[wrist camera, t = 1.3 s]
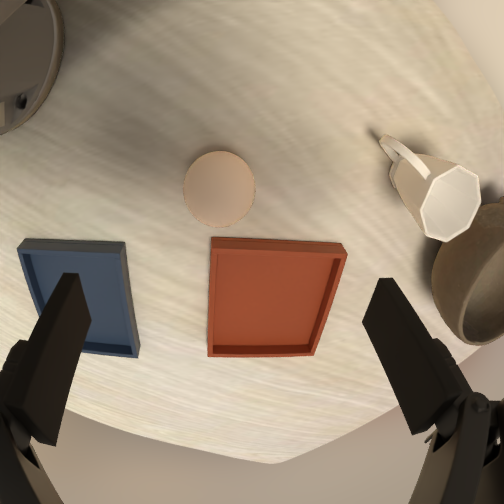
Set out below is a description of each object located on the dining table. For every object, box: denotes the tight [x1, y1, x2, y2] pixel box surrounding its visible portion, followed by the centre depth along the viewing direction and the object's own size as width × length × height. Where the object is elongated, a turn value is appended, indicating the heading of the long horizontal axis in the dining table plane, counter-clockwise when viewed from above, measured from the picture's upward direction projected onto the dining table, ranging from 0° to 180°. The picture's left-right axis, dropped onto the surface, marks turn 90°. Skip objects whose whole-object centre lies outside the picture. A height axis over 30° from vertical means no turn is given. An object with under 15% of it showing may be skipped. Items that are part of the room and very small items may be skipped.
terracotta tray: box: [207, 237, 348, 357], centre depth 35 cm, size 15×13×2 cm
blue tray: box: [17, 239, 140, 358], centre depth 32 cm, size 15×12×2 cm
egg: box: [183, 151, 255, 227], centre depth 24 cm, size 6×6×8 cm
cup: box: [379, 135, 481, 242], centre depth 25 cm, size 7×10×8 cm
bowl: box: [431, 196, 504, 346], centre depth 31 cm, size 17×18×10 cm
